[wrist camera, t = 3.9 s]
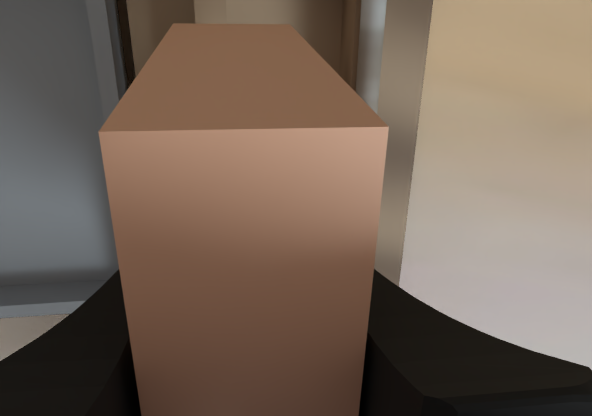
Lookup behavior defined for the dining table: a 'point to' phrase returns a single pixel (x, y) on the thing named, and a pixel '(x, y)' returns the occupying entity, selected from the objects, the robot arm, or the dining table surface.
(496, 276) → the dining table surface
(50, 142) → the tray
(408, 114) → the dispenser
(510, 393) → the robot arm
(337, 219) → the tan flat block
